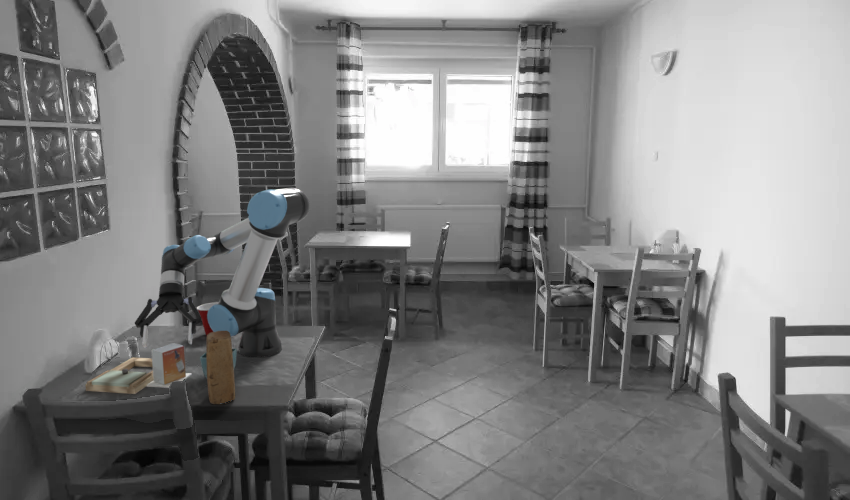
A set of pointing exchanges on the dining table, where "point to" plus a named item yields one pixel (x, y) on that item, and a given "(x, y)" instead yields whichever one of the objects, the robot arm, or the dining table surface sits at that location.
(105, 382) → the puzzle board
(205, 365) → the flower pot
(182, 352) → the small box
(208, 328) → the plastic cup
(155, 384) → the white flat panel
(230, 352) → the block
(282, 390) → the dining table surface
